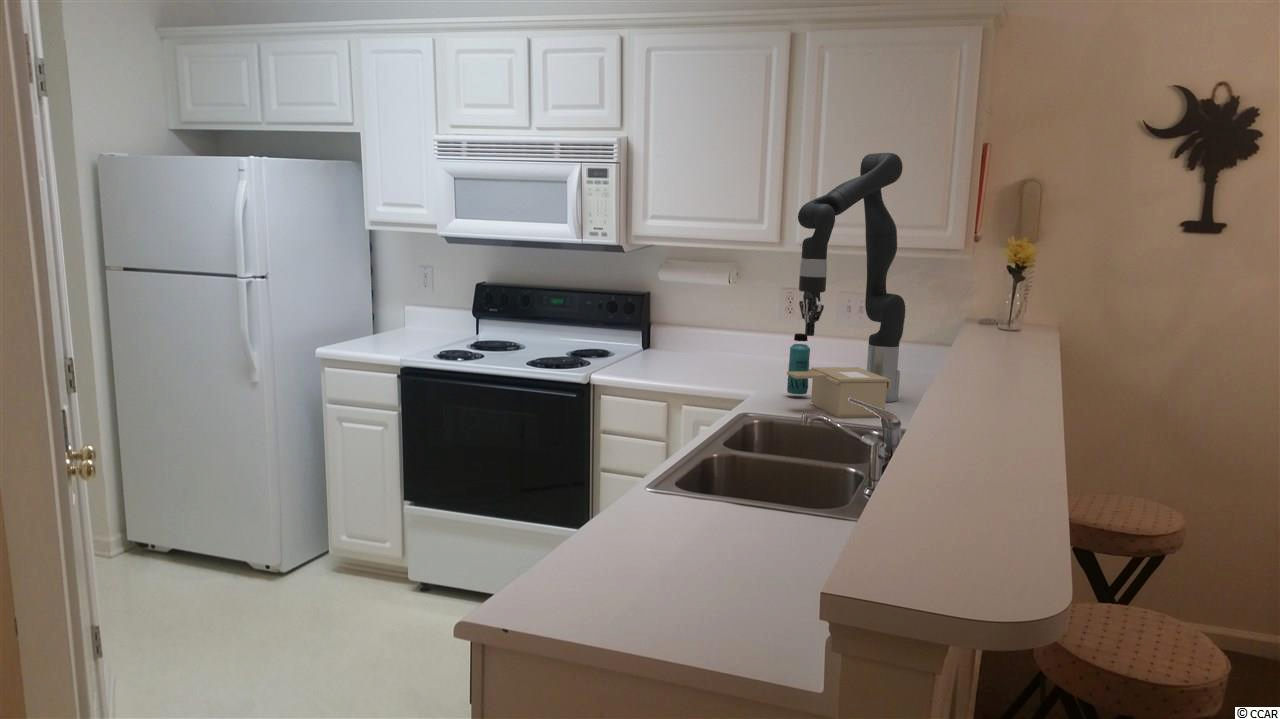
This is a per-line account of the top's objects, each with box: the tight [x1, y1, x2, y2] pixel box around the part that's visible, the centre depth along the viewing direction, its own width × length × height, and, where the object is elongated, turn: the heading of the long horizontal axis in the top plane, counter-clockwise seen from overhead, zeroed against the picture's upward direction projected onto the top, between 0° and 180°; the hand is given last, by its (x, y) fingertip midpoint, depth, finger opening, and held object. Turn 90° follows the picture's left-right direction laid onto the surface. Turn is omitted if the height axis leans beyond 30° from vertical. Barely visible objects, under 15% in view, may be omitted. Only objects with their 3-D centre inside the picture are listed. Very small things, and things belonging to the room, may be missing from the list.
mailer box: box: [810, 378, 887, 419], centre depth 275 cm, size 14×20×10 cm
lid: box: [786, 366, 891, 389], centre depth 274 cm, size 26×21×3 cm
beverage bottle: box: [786, 332, 811, 395], centre depth 292 cm, size 6×7×20 cm
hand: (809, 335), depth 270 cm, fingers closed
